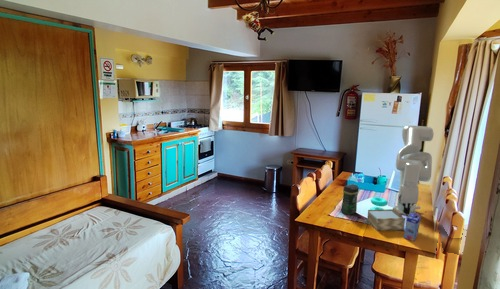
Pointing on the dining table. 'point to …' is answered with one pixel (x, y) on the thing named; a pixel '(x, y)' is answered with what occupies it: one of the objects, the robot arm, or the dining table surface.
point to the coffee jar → (350, 199)
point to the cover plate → (386, 214)
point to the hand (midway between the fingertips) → (406, 213)
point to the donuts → (378, 203)
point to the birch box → (386, 222)
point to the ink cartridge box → (412, 226)
